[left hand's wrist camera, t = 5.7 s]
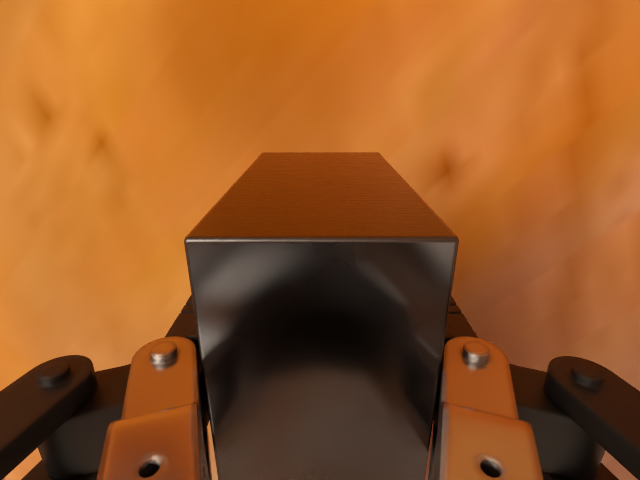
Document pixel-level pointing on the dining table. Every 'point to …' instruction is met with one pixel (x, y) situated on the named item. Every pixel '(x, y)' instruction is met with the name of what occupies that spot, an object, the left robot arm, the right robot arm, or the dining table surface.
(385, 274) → the bar
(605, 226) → the dining table surface
